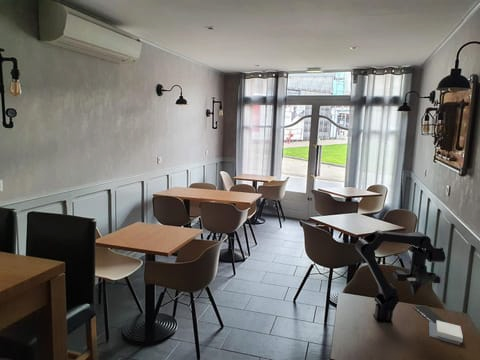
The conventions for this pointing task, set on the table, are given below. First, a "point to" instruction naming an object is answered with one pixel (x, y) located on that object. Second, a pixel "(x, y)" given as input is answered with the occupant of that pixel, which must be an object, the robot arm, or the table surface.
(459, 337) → the tile
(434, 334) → the mat
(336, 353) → the table surface
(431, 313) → the smartphone
